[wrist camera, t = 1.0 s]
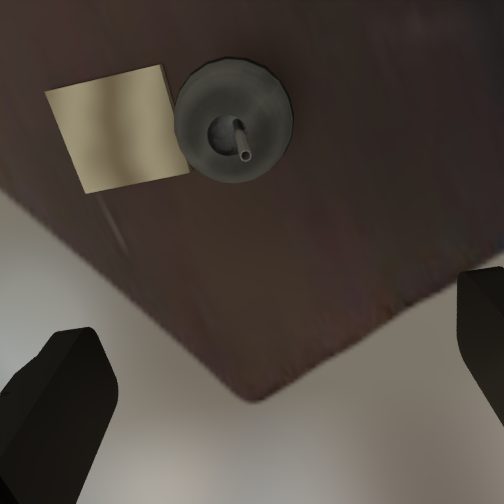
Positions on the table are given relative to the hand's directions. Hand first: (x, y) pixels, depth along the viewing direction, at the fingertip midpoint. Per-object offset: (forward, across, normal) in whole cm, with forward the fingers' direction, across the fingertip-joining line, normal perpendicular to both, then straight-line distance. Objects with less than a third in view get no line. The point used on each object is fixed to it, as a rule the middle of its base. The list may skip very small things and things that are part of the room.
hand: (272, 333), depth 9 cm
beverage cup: (+30, +2, -2) cm, 31 cm away
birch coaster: (+30, +13, -1) cm, 33 cm away
